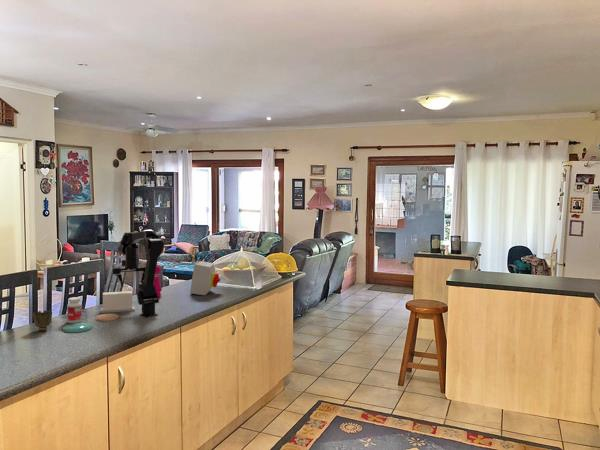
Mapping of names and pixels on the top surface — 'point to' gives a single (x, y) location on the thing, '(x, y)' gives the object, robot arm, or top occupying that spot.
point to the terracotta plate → (107, 317)
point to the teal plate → (77, 327)
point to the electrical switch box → (203, 278)
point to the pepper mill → (157, 281)
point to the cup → (42, 319)
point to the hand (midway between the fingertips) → (131, 286)
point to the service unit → (117, 302)
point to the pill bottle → (74, 310)
